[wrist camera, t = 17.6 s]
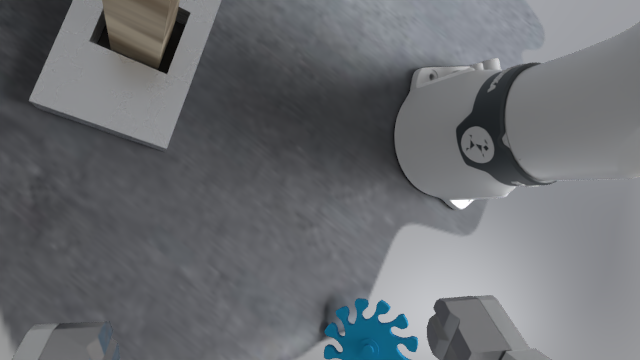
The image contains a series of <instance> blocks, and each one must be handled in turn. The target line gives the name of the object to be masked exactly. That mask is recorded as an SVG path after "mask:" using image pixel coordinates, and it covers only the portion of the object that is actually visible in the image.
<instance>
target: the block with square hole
mask: <svg viewBox="0 0 640 360" xmlns="http://www.w3.org/2000/svg"><path fill="white" fill-rule="evenodd" d="M220 3H221V0H180V2H179V7H178V11H177V15H176V20H175V21H177V22H179V23H181V24H184V25H186V26H185V29H184V31H183V34H182V37H181V39H180V42H179V44H178V47H177V50H176V52H175V55H174V58H173V60H172V63H171V65H170V68H169V71H168V73H167V74H165V73H163V72H160V71H158V70H156V69H153V68H151V67H148V66H146V65H144V64H141V63H139V62H137V61H134V60H132V59H130V58H127V57H125V56H123V55H120V54H118V53H116V52H113V51H111V50H109V49H106V48H104V47H102V46H99V45H97V43H98V41H99V38H100V36H101V34H102V31H103V29H104V27H105V24H106V20H105V14H104V8H103V3H102V0H73V1H72V4H71V6H70V8H69V10H68V13H67V15H66V17H65V19H64V22H63V24H62V26H61V29H60V31H59V33H58V35H57V38H56V40H55V42H54V44H53V47H52V49H51V51H50V53H49V56H48V58H47V60H46V62H45V65H44V67H43V69H42V71H41V74H40V76H39V78H38V81H37V83H36V85H35V87H34V90H33V92H32V94H31V96H30V99H29V101H30V102H31V103H32V104H33V105H34V106H36V107H37V108H38V109H41V110H44V111H47V112H50V113H52V114H55V115H58V116H61V117H64V118H67V119H70V120H73V121H76V122H79V123H82V124H84V125H87V126H90V127H93V128H96V129H99V130H102V131H105V132H108V133H111V134H113V135H116V136H119V137H122V138H125V139H128V140H131V141H134V142H137V143H140V144H143V145H145V146H148V147H151V148H154V149H157V150H160V151H163V152H165V150H166V149H167V147H168V144H169V141H170V138H171V136H172V133H173V130H174V128H175V125H176V122H177V119H178V117H179V114H180V111H181V109H182V106H183V103H184V101H185V98H186V95H187V92H188V90H189V87H190V84H191V82H192V79H193V76H194V73H195V71H196V68H197V65H198V63H199V60H200V57H201V55H202V52H203V49H204V46H205V44H206V41H207V38H208V36H209V33H210V30H211V27H212V25H213V22H214V19H215V17H216V14H217V11H218V8H219V6H220Z"/></svg>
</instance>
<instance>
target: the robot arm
mask: <svg viewBox="0 0 640 360" xmlns="http://www.w3.org/2000/svg"><path fill="white" fill-rule="evenodd" d="M429 76H430V78H431V79H430V78H429ZM394 138H395V149H396V154H397V157H398V160H399V163H400V166H401V168H402V170H403V172H404V173H405V175H406V177H407V178H408V179H409V181H410V182H411V183H412V184H413V185H414V186H415V187H416V188H418V189H419V190H420V191H422V192H424V193H426V194H428V195H431V196H435V197H438V198H440V199H442V200H443V201H444V202H445V203H446V204H447V205H449V206H450V207H451V208H452V209H455V210H460V209H464V208H466V207H467V206H468V205H469V204H470V203H471V202H472V201H473V200H475V199H490V198H503V197H506V196H507V195H508V193H509V192H511V191H512V190H513V189H514V188H515V187H516V186H521V187H535V186H540V185H548V184H552V183H554V182H556V181H559V180H597V179H630V178H635V177H639V176H640V21H639V22H638V23H637V24H635V25H634V26H632V27H631V28H629V29H627V30H626V31H624V32H622V33H620V34H618V35H616V36H614V37H612V38H609V39H607V40H605V41H602V42H600V43H597V44H595V45H592V46H590V47H587V48H585V49H582V50H579V51H577V52H574V53H572V54H569V55H566V56H563V57H560V58H557V59H554V60H551V61H548V62H545V63H542V64H541V63H528V64H522V65H517V66H513V67H510V68H507V69H506V70H502V69H501V68H500V62H499V60H498V58H496V59H490V60H486V61H483V62H481V63H477V64H473V65H471V66H459V67H427V68H421V69H417V70H416V71H415V72H414V74H413V77H412V82H411V88H410V92H409V94H408V96H407V98H406V100H405V101H404V103H403V104H402V106H401V108H400V111H399V113H398V116H397V120H396V124H395V136H394ZM434 310H435V312H436V314H435V315H434V316H432V317H431V318H430V319H429V322H428V325H427V338H428V342H429V346H430V348H431V351H432V353H433V355H434V356H435V357H437V358H438V359H439V360H552V359H550V358H549V357H547V356H546V355H544V354H543V353H541V352H540V351H538V350H537V349H530V347H529V346H528V344H527V343H526V341H525V340H524V338H523V337H522V336H521V334H520V333H519V331H518V330H517V328H516V327H515V325H514V324H513V322H512V321H511V319H510V318H509V316H508V315H507V313H506V312H505V310H504V309H503V308H502V306H501V304H500V303H499V301H498V300H497V299H496V298H495V297H494V296H492V295H487V296H474V297H473V296H467V297H454V298H442V299H439V300H437V301H436V303H435V305H434ZM112 333H113V328H112V325H111V323H110V321H105V322H81V323H57V324H41V325H34V326H33V327H32V328H31V329H30V330H29V331H28V332H27V334H26V335H25V337H24V339H23V341H22V342H21V344H20V346H19V348H18V349H17V351H16V353H15V355H14V356H13V358H12V360H120V351H119V346H118V343H117V342H116V341H115V340H113V339H111V336H112Z"/></svg>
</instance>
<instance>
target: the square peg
mask: <svg viewBox="0 0 640 360" xmlns="http://www.w3.org/2000/svg"><path fill="white" fill-rule="evenodd" d="M179 2H180V0H102V3H103V8H104V14H105V20H106V25H107V31H108V36H109V42H110V48H111V50H114V51H116V52H118V53H121V54H123V55H125V56H128V57H130V58H133V59H135V60H137V61H140V62H142V63H144V64H147V65H149V66H151V67H154V68H156V69H158V68H159V65H160V63H161V60H162V58H163V55H164V53H165V50H166V47H167V45H168V42H169V40H170V37H171V35H172V32H173V28H174V24H175V20H176V15H177V11H178V7H179Z"/></svg>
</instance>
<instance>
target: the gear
mask: <svg viewBox="0 0 640 360" xmlns="http://www.w3.org/2000/svg"><path fill="white" fill-rule="evenodd" d="M368 304H369V303H368V300H366V299H359V298H358V299H356V301H355V307H356V310H357V318H356V321H355V324H351V323H349V321H348V316H349V308H348V307H347V306H344V307H342V308H340V309H338V310H337V311H336V315H337V317H338V318H339V319H340V320H341V321H342V323H343V325H344V328H345V336H341V335H340V334H339V332H338V327H337V325H336V324H335V323H333V322H332V323H331V324H329V325H328V326H327V328H326V329H325V331H324V332H325V334H326V335H327V336H329V337H332V338H334V339H336V340H337V341H338V342H339V343H340V344H341V346H342V348H343V352H338V351H337V350H336V348H335V347H334V346H333V345H327V346H326V347H325V350H324V358H325V359H332V358H339V359H342V360H410V359H408V358H406V357H405V356H403V355H402V354H401V352H400V351H399V350H398V348H397V345H398V344H400V343H401V344H404V345H405V346H406V347H407V349H408V350H409V351H411V352H416V349H417V345H418V338H417V337H414V336H411V337H407V338H402V337H399V336H396V335H394V334H392V332H391V327H393V326H396V327H398V328H400V329H405V328H407V326H408V321H407V318H406V317H405V315H404V314H400V315H398V317H397V318H396V319H395V320H393V321H392V322H388V323H381V322H380V321H379V320H378V315H380V314H386V313H387V312H388V311H389V310H390V306H389V305H388V304H387V303H386V302H385V301H383V300H381V301H380V302H378V304H377V308H376V312H375V314H374V315H373V316H372V317H371V318H370V319H365V318H364V317H363V315H362V312H363V311H364V310H365V309H366V308H367V307H368Z"/></svg>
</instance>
